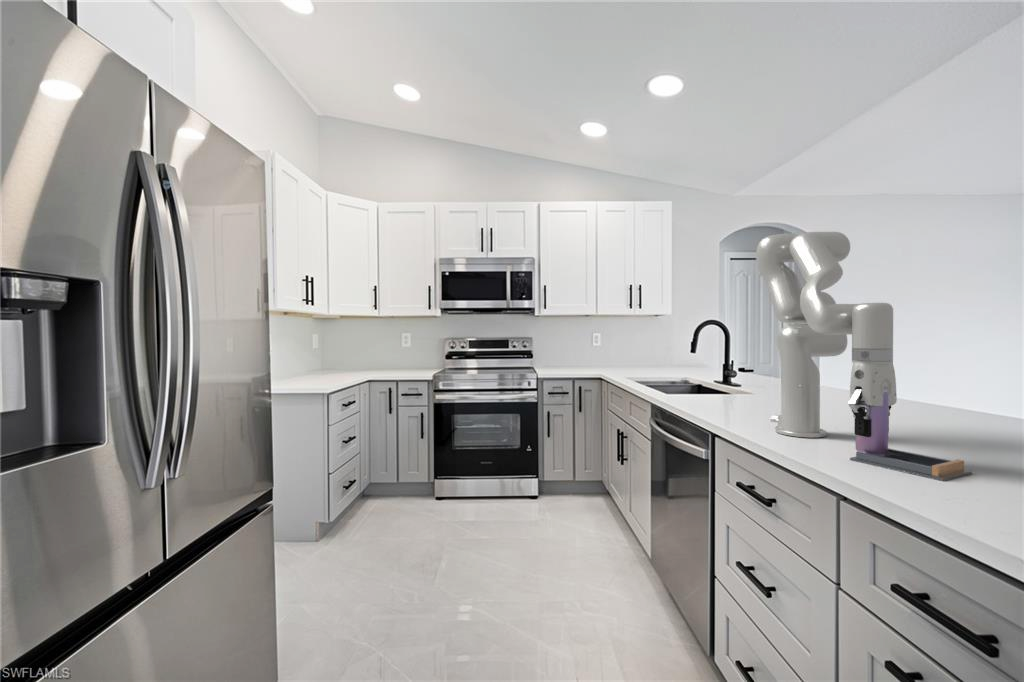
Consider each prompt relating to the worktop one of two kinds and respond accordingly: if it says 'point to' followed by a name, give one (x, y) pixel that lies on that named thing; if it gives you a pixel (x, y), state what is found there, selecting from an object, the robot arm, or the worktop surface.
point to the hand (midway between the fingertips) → (871, 433)
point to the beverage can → (876, 431)
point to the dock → (915, 464)
